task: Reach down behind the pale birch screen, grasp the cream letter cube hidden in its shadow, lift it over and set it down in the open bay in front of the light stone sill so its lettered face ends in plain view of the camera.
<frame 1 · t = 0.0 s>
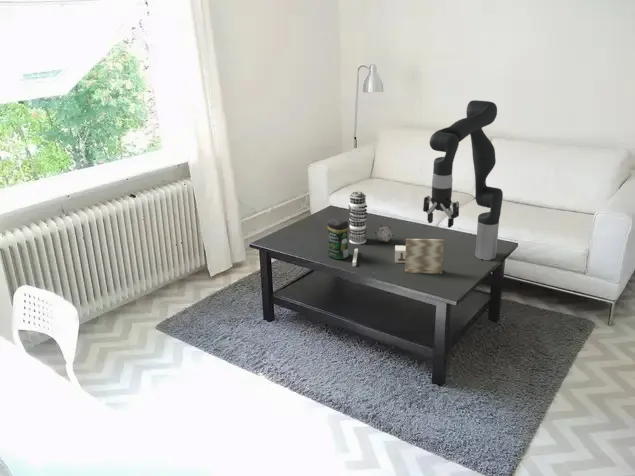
hand: (440, 224, 235), 29 cm above the table, fingers open, 8 cm apart
letter cube: (401, 260, 277), on the table
game die: (384, 242, 298), on the table
decorative candle: (357, 241, 300), on the table
coffee jar: (338, 256, 283), on the table
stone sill: (355, 259, 279), on the table
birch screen: (423, 271, 265), on the table
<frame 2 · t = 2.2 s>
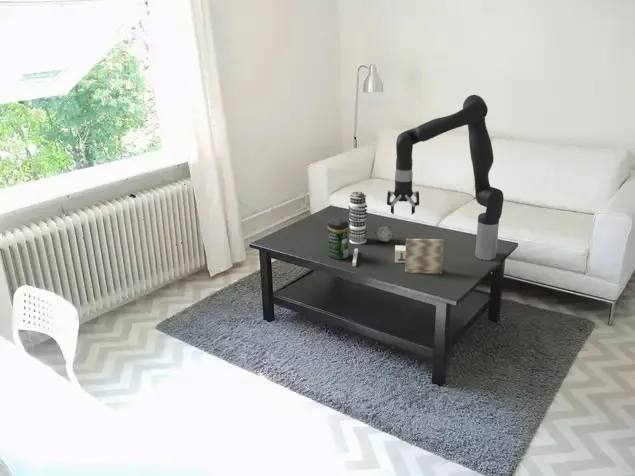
hand: (402, 213, 268), 22 cm above the table, fingers open, 8 cm apart
nothing on the table moved.
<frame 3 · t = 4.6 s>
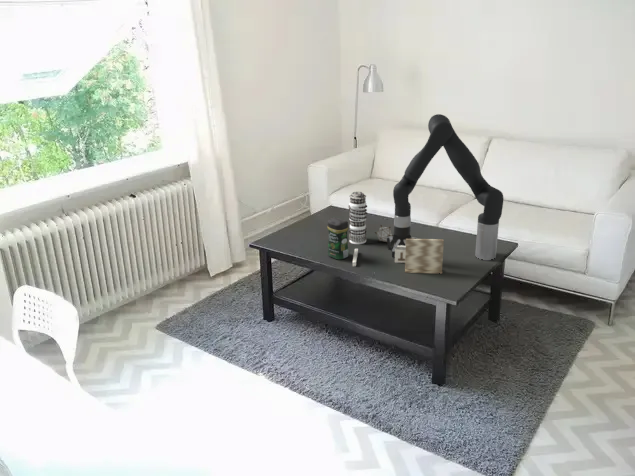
hand: (401, 258, 276), 1 cm above the table, fingers closed on letter cube, 6 cm apart
letter cube: (401, 260, 277), on the table, touching gripper
everything else where it was.
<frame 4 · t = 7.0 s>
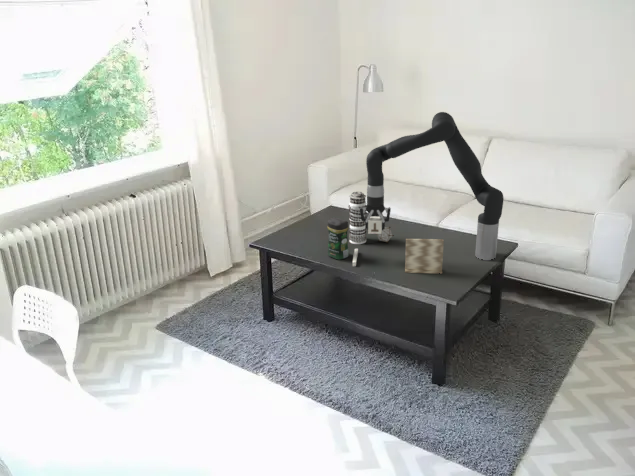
hand: (375, 229, 272), 15 cm above the table, fingers closed on letter cube, 6 cm apart
letter cube: (375, 231, 273), point 14 cm above the table, touching gripper
everything else where it was.
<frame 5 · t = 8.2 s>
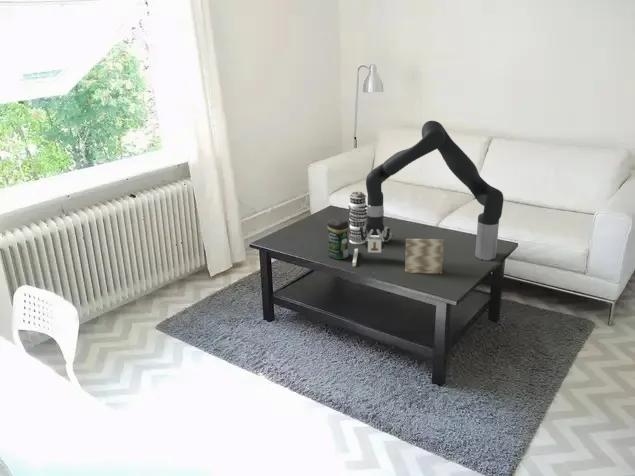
hand: (374, 248, 276), 6 cm above the table, fingers closed on letter cube, 6 cm apart
letter cube: (374, 249, 276), point 5 cm above the table, touching gripper
everything else where it was.
when the fingers open (2 cm above the table, at t = 9.4 s): letter cube drops 1 cm, on the table.
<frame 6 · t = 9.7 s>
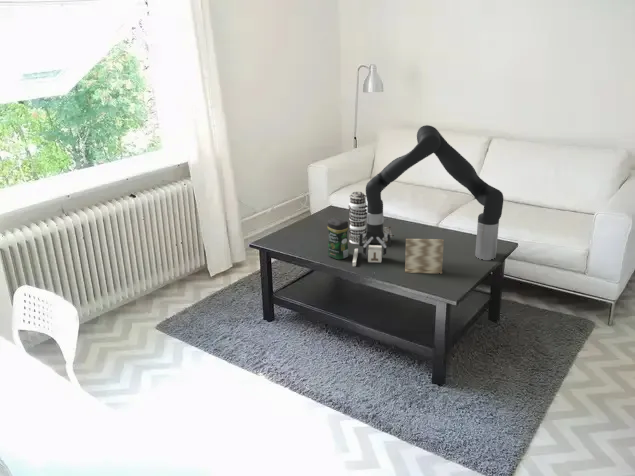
hand: (374, 254, 277), 3 cm above the table, fingers open, 8 cm apart
letter cube: (374, 259, 278), on the table
everything else where it was.
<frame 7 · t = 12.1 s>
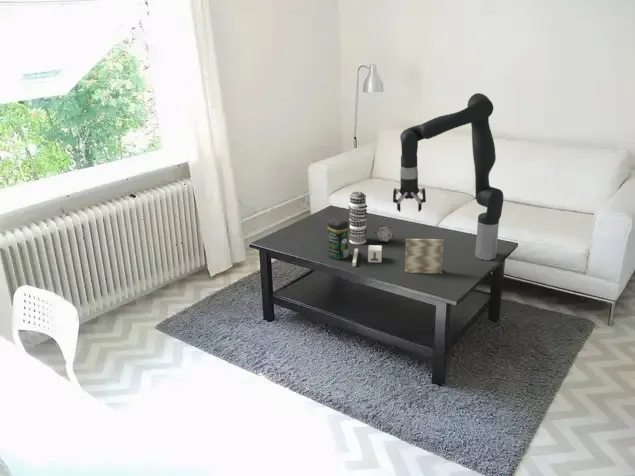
hand: (409, 211, 267), 24 cm above the table, fingers open, 8 cm apart
nothing on the table moved.
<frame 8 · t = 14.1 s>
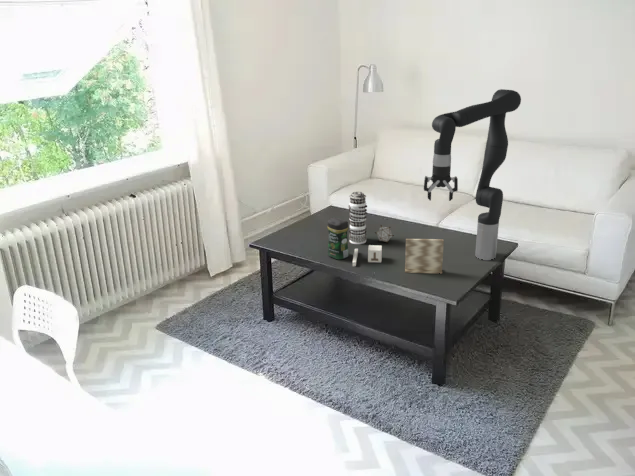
hand: (439, 200, 261), 30 cm above the table, fingers open, 8 cm apart
nothing on the table moved.
at the end: letter cube inside the target area (0.1 cm from its centre), on the table; letter cube tilted 0°; the gripper is holding nothing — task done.
